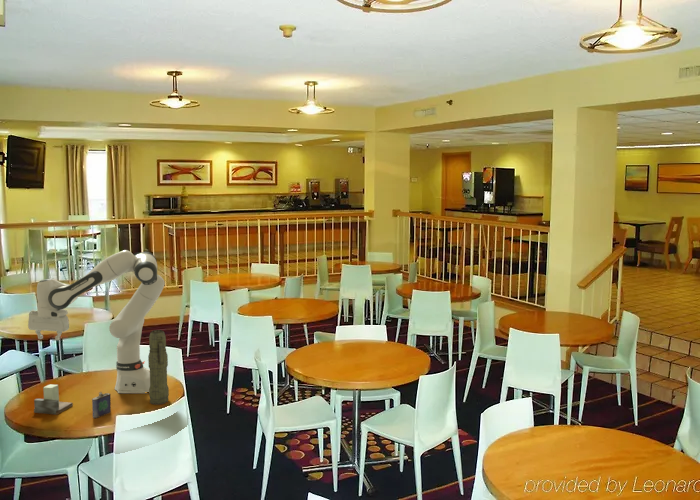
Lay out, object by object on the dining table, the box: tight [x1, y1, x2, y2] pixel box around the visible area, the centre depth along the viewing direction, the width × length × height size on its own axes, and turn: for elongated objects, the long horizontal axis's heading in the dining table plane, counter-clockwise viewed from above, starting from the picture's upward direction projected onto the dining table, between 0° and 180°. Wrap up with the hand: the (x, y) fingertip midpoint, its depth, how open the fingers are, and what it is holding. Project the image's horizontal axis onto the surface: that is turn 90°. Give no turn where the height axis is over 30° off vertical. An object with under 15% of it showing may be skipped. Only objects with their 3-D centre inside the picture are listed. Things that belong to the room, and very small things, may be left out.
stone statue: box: [147, 329, 170, 405], centre depth 284 cm, size 9×12×35 cm
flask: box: [91, 391, 112, 419], centre depth 268 cm, size 9×3×11 cm, turn 151°
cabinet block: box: [43, 383, 60, 402], centre depth 273 cm, size 4×4×10 cm
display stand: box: [33, 398, 74, 415], centre depth 274 cm, size 12×11×6 cm
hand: (49, 339), depth 288 cm, fingers open, 8 cm apart
